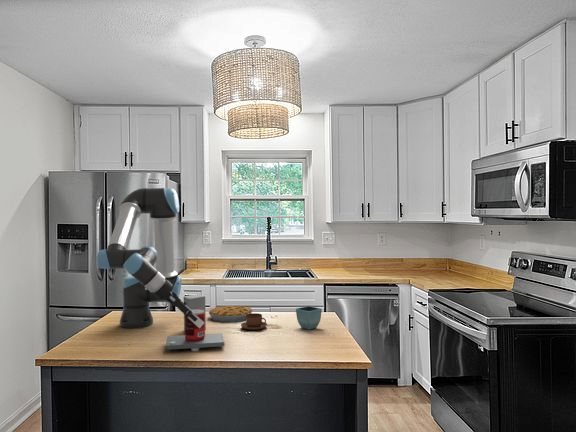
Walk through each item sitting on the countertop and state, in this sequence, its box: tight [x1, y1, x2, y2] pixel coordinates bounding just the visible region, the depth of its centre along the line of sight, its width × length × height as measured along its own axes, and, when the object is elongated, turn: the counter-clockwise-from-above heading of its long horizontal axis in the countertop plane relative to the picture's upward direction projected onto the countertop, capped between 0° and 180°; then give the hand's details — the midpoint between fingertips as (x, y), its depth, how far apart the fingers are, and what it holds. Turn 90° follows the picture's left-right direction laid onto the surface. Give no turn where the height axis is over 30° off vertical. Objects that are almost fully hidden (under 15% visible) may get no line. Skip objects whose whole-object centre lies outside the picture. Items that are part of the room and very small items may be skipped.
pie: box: [208, 305, 253, 323], centre depth 238 cm, size 22×22×5 cm
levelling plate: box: [165, 332, 226, 352], centre depth 186 cm, size 14×22×3 cm, turn 102°
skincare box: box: [183, 293, 207, 331], centre depth 212 cm, size 8×7×16 cm
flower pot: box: [295, 305, 323, 331], centre depth 215 cm, size 9×9×9 cm
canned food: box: [184, 309, 206, 341], centre depth 186 cm, size 8×8×11 cm
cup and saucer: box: [240, 312, 268, 331], centre depth 216 cm, size 12×12×6 cm
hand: (198, 321), depth 186 cm, fingers open, 13 cm apart
